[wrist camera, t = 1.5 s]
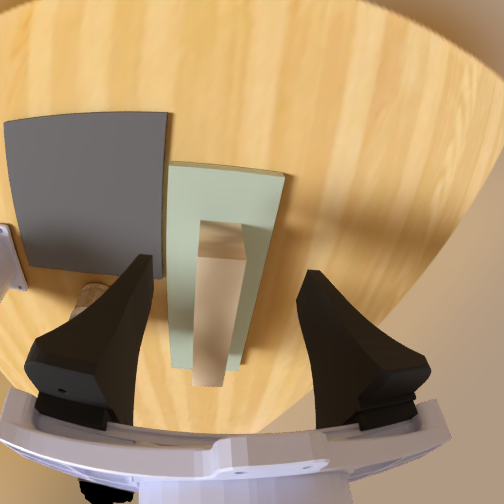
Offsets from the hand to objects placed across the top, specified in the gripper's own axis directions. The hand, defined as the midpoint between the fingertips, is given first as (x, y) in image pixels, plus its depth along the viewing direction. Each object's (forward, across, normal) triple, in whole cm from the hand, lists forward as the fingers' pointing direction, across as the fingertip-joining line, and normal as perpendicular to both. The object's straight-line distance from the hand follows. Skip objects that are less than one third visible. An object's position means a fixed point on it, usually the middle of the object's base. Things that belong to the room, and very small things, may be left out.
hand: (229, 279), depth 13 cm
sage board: (+10, 0, +10) cm, 14 cm away
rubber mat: (+9, +12, +2) cm, 15 cm away
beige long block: (+9, 0, +10) cm, 13 cm away
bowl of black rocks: (+9, +31, +98) cm, 103 cm away
